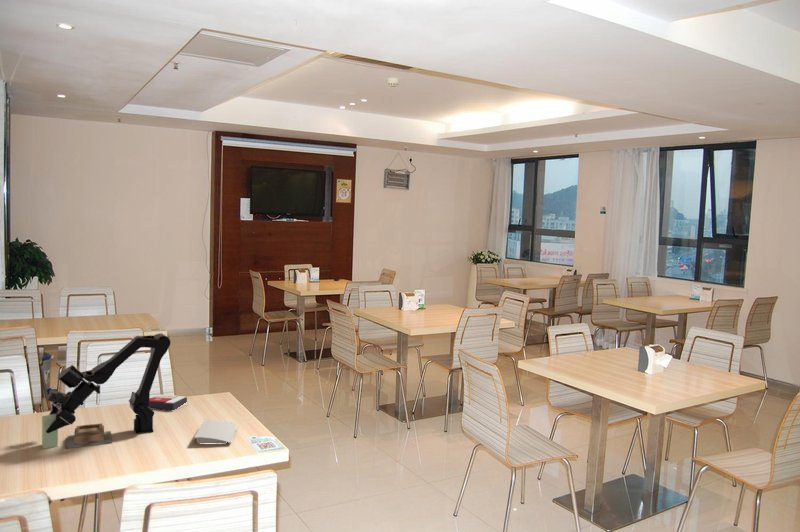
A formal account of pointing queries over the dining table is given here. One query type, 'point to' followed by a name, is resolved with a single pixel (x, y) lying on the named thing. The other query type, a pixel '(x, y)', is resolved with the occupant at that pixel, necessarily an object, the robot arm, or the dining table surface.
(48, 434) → the pillar
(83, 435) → the base socket
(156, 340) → the robot arm
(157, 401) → the grey and red box
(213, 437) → the book
